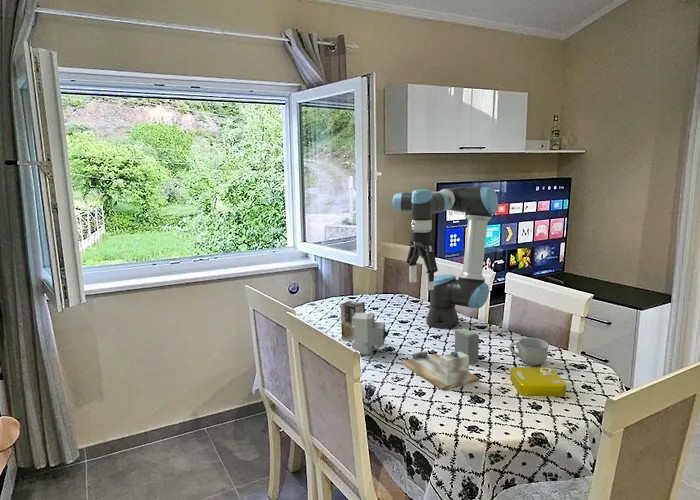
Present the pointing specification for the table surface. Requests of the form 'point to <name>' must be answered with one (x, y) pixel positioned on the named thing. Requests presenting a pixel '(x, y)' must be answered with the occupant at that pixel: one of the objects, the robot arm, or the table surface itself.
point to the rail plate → (431, 375)
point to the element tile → (537, 381)
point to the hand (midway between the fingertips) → (421, 285)
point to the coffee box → (349, 318)
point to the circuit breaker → (367, 333)
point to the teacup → (531, 350)
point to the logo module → (467, 344)
